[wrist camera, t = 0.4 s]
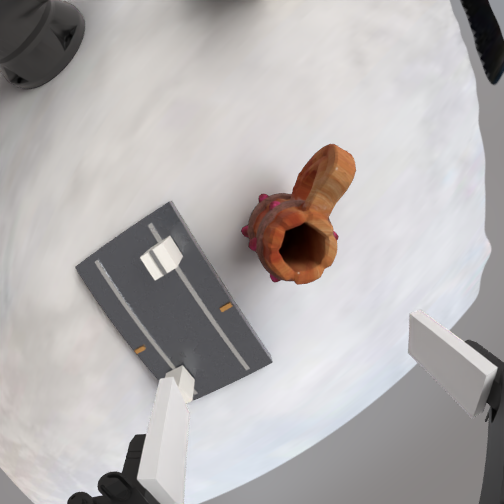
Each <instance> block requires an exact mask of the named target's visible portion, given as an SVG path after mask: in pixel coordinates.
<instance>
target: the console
mask: <svg viewBox="0 0 504 504" xmlns="http://www.w3.org/2000/svg"><path fill="white" fill-rule="evenodd" d="M168 236H171V238H172V239H173V241H174V243H175V244H176V246H177V247H178V249H179V250H180V252H181V254H182V255H183V257H182V259H181V261H180V263H179V265H178V267H177V268H175V269H173V270H172V271H170V272H168V273H167V274H166V275H164V276H162V277H160V278H159V279H157V280H154V279H153V277H152V276H151V274H150V272H149V271H148V269H147V268H146V266H145V265H144V263H143V262H142V260H141V259H140V257H141V256H142V255H143V254H144V253H145V252H146V251H147V250H149V249H150V248H151V247H152V246H154V245H156V244H157V243H159V242H160V241H162V240H163V239H165V238H167V237H168ZM75 268H76V269H77V271H78V273H79V274H80V276H81V277H82V279H83V281H84V282H85V284H86V285H87V287H88V288H89V290H90V291H91V293H92V294H93V296H94V297H95V299H96V300H97V302H98V303H99V304H100V306H101V307H102V309H103V310H104V312H105V313H106V314H107V316H108V317H109V319H110V320H111V321H112V323H113V324H114V325H115V327H116V328H117V329H118V331H119V332H120V333H121V335H122V336H123V337H124V339H125V340H126V341H127V342H128V344H129V345H130V346H131V348H132V349H133V350H134V351H135V353H136V354H137V355H138V356H139V357H140V359H141V360H142V361H143V362H144V364H145V365H146V366H147V367H148V368H149V369H150V371H151V372H152V373H153V374H154V375H155V376H156V378H157V379H158V380H160V379H161V378H165V376H166V373H168V372H170V371H172V370H174V369H176V368H178V367H180V366H182V365H183V366H184V367H185V369H186V370H187V371H188V372H189V373H190V375H191V376H192V377H193V378H194V379H195V382H194V391H193V400H196V399H198V398H200V397H202V396H205V395H207V394H209V393H211V392H213V391H216V390H218V389H220V388H222V387H224V386H226V385H229V384H231V383H233V382H235V381H237V380H239V379H241V378H243V377H245V376H247V375H249V374H251V373H253V372H255V371H257V370H259V369H261V368H263V367H265V366H267V365H269V364H271V363H272V358H271V355H270V354H269V352H268V351H267V349H266V348H265V346H264V345H263V343H262V342H261V340H260V339H259V337H258V336H257V334H256V333H255V331H254V330H253V328H252V327H251V325H250V324H249V322H248V321H247V319H246V318H245V316H244V315H243V313H242V312H241V310H240V309H239V307H238V306H237V304H236V303H235V301H234V300H233V298H232V297H231V295H230V293H229V292H228V290H227V289H226V287H225V286H224V284H223V283H222V281H221V279H220V278H219V276H218V275H217V273H216V272H215V270H214V268H213V267H212V265H211V264H210V262H209V261H208V259H207V257H206V256H205V254H204V253H203V251H202V249H201V248H200V246H199V245H198V243H197V241H196V240H195V238H194V236H193V235H192V233H191V232H190V230H189V228H188V227H187V225H186V223H185V222H184V220H183V218H182V217H181V215H180V213H179V212H178V210H177V209H176V207H175V205H174V203H173V202H172V201H170V202H168V203H167V204H165V205H163V206H162V207H160V208H159V209H157V210H156V211H154V212H153V213H151V214H150V215H148V216H147V217H145V218H144V219H142V220H141V221H139V222H138V223H136V224H135V225H133V226H132V227H130V228H129V229H127V230H126V231H124V232H123V233H121V234H120V235H119V236H117V237H116V238H114V239H113V240H111V241H110V242H109V243H107V244H106V245H104V246H103V247H102V248H100V249H99V250H98V251H96V252H95V253H93V254H92V255H91V256H89V257H88V258H87V259H85V260H84V261H83V262H81V263H80V264H79V265H77V266H76V267H75Z"/></svg>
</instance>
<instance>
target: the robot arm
mask: <svg viewBox="0 0 504 504" xmlns="http://www.w3.org/2000/svg"><path fill="white" fill-rule="evenodd" d="M84 31H85V21H84V18H83V15H82V14H81V13H80V11H79V10H78V9H77V8H76V7H75V6H74V5H72V4H70V3H68V2H65V1H61V0H0V71H1V73H2V74H3V75H4V77H5V78H6V79H7V81H8V82H10V83H11V84H13V85H15V86H18V87H20V88H24V89H30V88H35V87H38V86H40V85H43V84H45V83H46V82H48V81H50V80H51V79H52V78H54V77H55V76H56V75H57V74H59V73H60V72H61V71H62V70H63V69H64V68H65V67H66V65H67V64H68V63H69V62H70V61H71V59H72V58H73V56H74V55H75V53H76V52H77V50H78V48H79V46H80V44H81V42H82V39H83V36H84ZM408 354H410V355H411V356H412V357H413V358H414V359H415V360H416V361H417V362H418V363H419V364H420V365H421V366H422V367H423V368H424V369H425V370H426V371H427V372H428V374H429V375H431V377H433V379H434V380H435V381H436V382H437V383H438V384H439V385H440V386H441V387H442V388H443V389H444V390H445V391H446V392H447V393H448V394H449V395H450V396H451V397H452V398H453V399H454V400H455V401H456V402H457V403H458V404H459V405H460V406H461V407H462V408H463V410H464V411H465V412H466V413H467V414H468V415H469V416H470V417H471V418H472V419H473V418H474V417H476V416H477V415H479V414H480V413H482V412H483V411H484V408H485V405H486V403H488V404H489V405H490V409H489V412H488V414H487V416H486V419H485V422H486V421H487V420H488V418H489V426H488V443H487V454H486V463H485V472H484V478H483V484H482V491H481V496H480V501H479V504H504V362H502V361H501V360H500V359H498V358H497V357H496V356H494V355H493V354H492V353H490V352H488V350H486V349H485V348H483V347H482V346H481V345H479V344H478V343H476V342H474V341H471V340H467V341H465V342H464V341H462V340H461V339H460V338H458V337H457V336H456V335H454V334H453V333H452V332H450V331H449V330H448V329H446V328H445V327H444V326H442V325H441V324H440V323H438V322H437V321H435V320H434V319H433V318H431V317H430V316H428V315H427V314H426V313H424V312H423V311H421V310H418V311H415V312H413V313H410V318H409V344H408ZM189 420H190V412H189V410H188V408H187V406H186V404H185V401H184V399H183V397H182V395H181V393H180V391H179V388H178V386H177V384H176V382H175V379H174V377H168V378H161V379H160V380H159V384H158V388H157V392H156V396H155V400H154V404H153V408H152V412H151V416H150V421H149V425H148V429H147V434H140V435H135V436H134V438H133V439H132V440H131V442H130V444H129V448H128V453H127V455H126V459H125V463H124V467H123V471H122V473H120V472H109V473H107V474H105V475H103V476H102V477H101V478H100V480H99V481H98V486H97V487H98V490H99V492H100V493H101V494H102V496H97V497H91V496H90V495H89V494H87V493H85V492H77V493H75V494H73V495H72V496H71V497H70V498H69V500H68V502H67V504H184V491H185V474H186V458H187V444H188V432H189Z"/></svg>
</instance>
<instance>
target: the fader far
mask: <svg viewBox="0 0 504 504" xmlns="http://www.w3.org/2000/svg"><path fill="white" fill-rule="evenodd" d="M168 377H174V379H175V382H176V384H177V386H178V388H179V391H180V393H181V395H182V397H183V399H184V401H185V404H187V403H190V402H192V401H193V391H194V382H195V379H194V378H193V377H192V376H191V375H190V373H189V372H188V371H187V370H186V369H185V367H184V366H183V365H182V366H180V367H178V368H176V369H174V370H172V371H170V372H168V373H166V376H165V378H168Z"/></svg>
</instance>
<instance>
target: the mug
mask: <svg viewBox="0 0 504 504" xmlns="http://www.w3.org/2000/svg"><path fill="white" fill-rule="evenodd" d="M355 172H356V167H355V161H354V158H353V156H352V155H351V154H350V153H348V152H347V151H345V150H343V149H341V148H340V147H338V146H337V145H335V144H329V145H326V146H324V147H323V148H321V149H320V150H319V151H318V152H316V153H315V154H314V155H313V157H312V158H311V159H310V160H309V161H308V162H307V164H306V165H305V166H304V168H303V169H302V171H301V172H300V173H299V175H298V177H297V180H296V183H295V186H294V187H293V192H292V194H286V193H279V194H274V195H271V196H268V195H267V194H261V195H260V196H259V198H258V199H259V204H258V205H257V206H256V207H255V209H254V210H253V212H252V214H251V216H250V219H249V224H248V225H246V226H244V227H243V228H242V230H241V232H242V234H243V235H244V236H245V237H249V240H250V242H249V248H250V249H252V250H253V251H255V252H256V253H257V254H258V257H259V259H260V261H261V263H262V265H263V266H264V268H265V269H266V270H267V271H268V272H269V273H270V278H271V279H272V281H273V282H278V281H280V280H284V281H294V282H295V283H296V284H297V285H298V284H307V283H310V282H313V281H315V280H317V279H319V278H320V277H321V275H322V274H323V271H324V269H325V268H327V267H329V266H331V265H332V263H333V261H334V259H335V256H336V254H337V240H338V235H337V234H336V233H335V232H334V231H333V226H332V224H331V222H330V220H329V216H330V214H331V212H332V210H333V208H334V206H335V204H336V203H337V202H338V200H339V199H340V198H341V197H342V196H343V194H344V193H345V192H346V191H347V189H348V187H349V186H350V184H351V182H352V181H353V178H354V175H355Z"/></svg>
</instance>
